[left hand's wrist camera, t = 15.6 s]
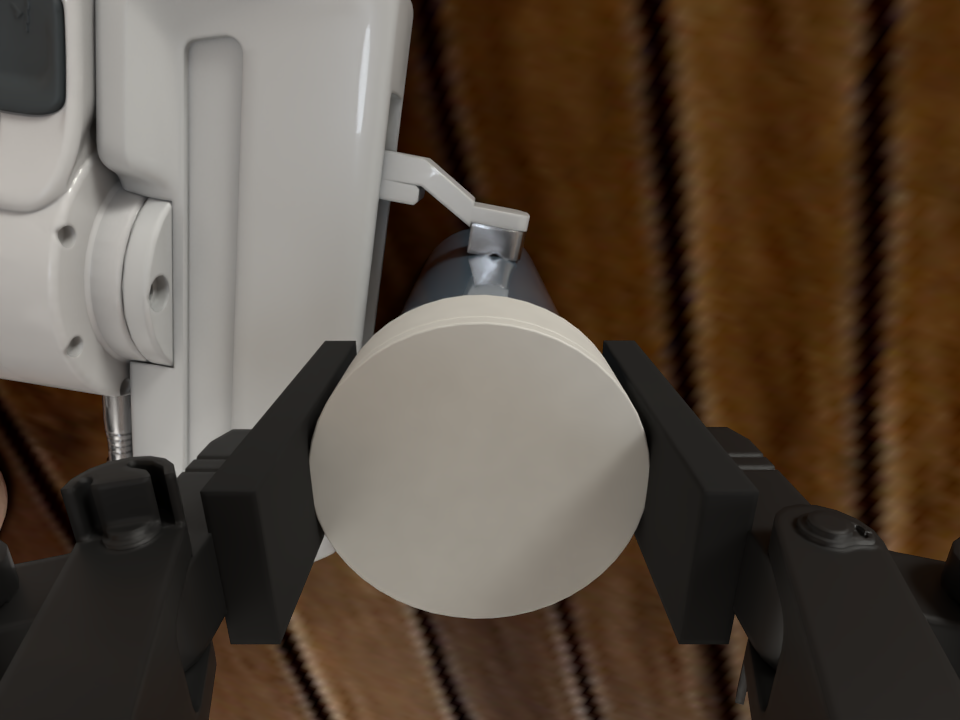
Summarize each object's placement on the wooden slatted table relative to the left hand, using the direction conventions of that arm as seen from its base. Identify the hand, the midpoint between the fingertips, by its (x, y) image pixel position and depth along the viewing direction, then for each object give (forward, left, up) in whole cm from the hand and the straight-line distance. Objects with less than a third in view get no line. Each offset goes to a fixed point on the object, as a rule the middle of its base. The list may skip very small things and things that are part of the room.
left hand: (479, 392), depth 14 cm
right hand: (0, -1, -6) cm, 6 cm away
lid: (0, 0, +4) cm, 4 cm away
